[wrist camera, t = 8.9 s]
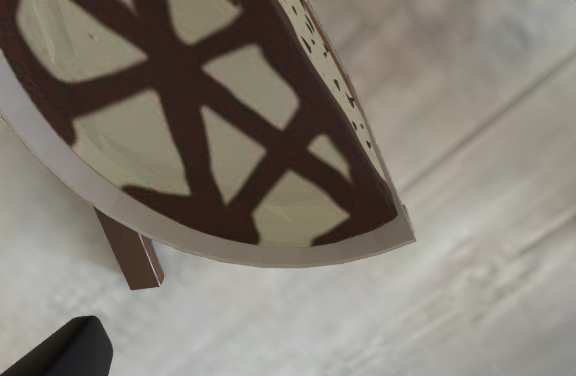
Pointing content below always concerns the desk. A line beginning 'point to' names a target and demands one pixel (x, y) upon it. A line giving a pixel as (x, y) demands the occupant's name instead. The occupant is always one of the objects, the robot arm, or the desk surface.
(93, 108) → the food container
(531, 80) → the desk surface
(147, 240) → the walnut spoon
